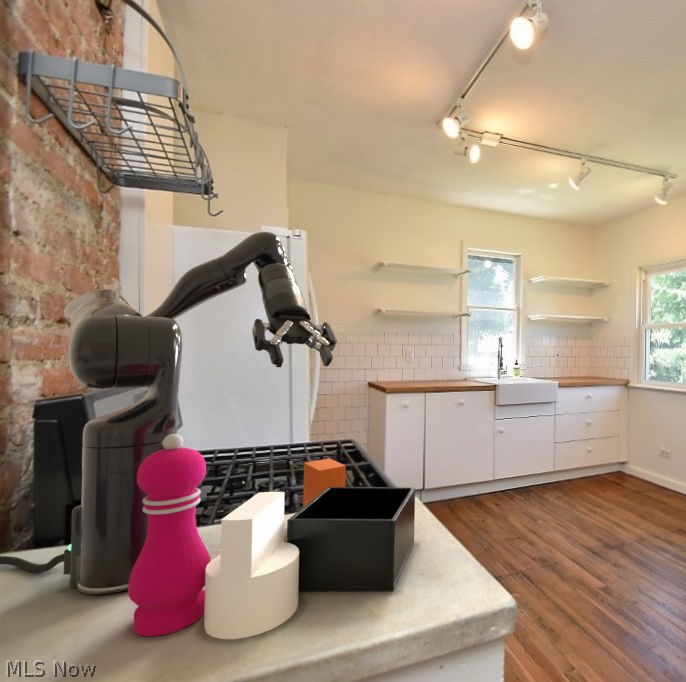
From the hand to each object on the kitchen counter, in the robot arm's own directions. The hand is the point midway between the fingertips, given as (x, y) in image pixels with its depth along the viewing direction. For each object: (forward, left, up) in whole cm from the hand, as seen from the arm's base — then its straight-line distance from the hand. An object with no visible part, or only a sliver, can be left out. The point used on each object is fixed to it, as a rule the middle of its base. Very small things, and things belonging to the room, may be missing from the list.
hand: (304, 363), depth 83 cm
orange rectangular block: (+7, -8, -26) cm, 28 cm away
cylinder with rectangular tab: (+9, -33, -27) cm, 43 cm away
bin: (+17, -22, -26) cm, 38 cm away
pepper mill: (+1, -34, -26) cm, 43 cm away
